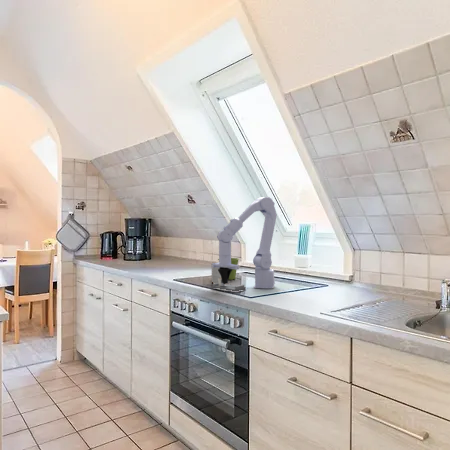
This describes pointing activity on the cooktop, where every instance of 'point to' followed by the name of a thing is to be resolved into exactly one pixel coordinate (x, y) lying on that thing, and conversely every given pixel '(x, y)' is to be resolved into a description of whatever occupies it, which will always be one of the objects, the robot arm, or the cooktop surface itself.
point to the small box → (215, 274)
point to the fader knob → (220, 282)
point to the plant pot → (233, 272)
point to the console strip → (229, 287)
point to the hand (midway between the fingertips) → (225, 283)
